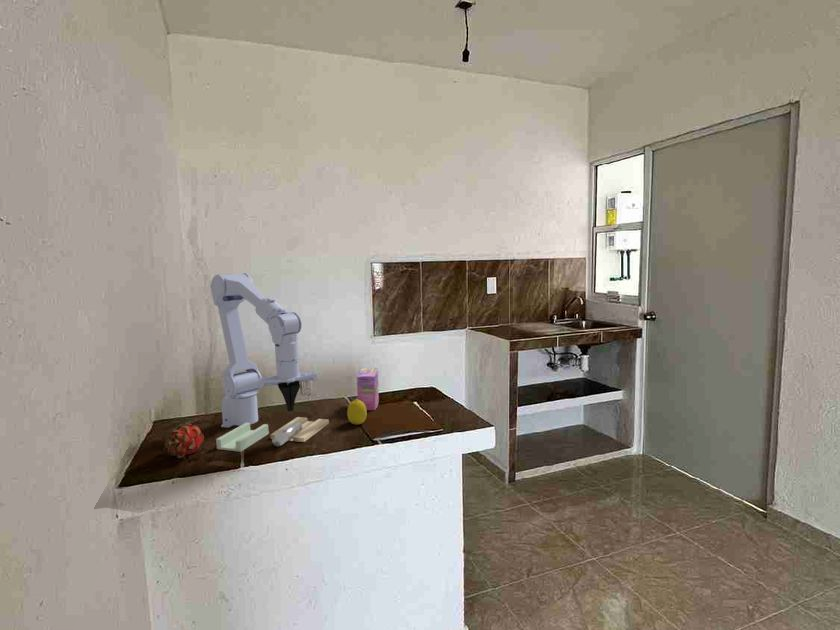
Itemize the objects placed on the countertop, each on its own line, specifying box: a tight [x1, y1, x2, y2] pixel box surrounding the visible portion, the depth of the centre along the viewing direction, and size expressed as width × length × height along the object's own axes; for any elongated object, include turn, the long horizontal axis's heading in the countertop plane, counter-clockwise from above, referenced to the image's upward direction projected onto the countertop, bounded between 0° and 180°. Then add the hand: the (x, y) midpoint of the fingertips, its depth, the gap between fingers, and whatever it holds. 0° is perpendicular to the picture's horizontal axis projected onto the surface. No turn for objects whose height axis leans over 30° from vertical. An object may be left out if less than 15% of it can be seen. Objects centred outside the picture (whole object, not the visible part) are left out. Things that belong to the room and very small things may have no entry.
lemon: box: [347, 398, 368, 426], centre depth 135 cm, size 6×6×8 cm
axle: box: [271, 421, 302, 448], centre depth 124 cm, size 10×3×3 cm, turn 165°
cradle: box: [215, 423, 270, 453], centre depth 123 cm, size 7×12×4 cm, turn 164°
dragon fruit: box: [163, 422, 205, 459], centre depth 118 cm, size 8×8×12 cm
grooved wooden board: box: [269, 416, 330, 443], centre depth 130 cm, size 10×14×2 cm
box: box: [356, 367, 380, 411], centre depth 150 cm, size 10×6×12 cm, turn 179°
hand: (290, 410), depth 124 cm, fingers closed
